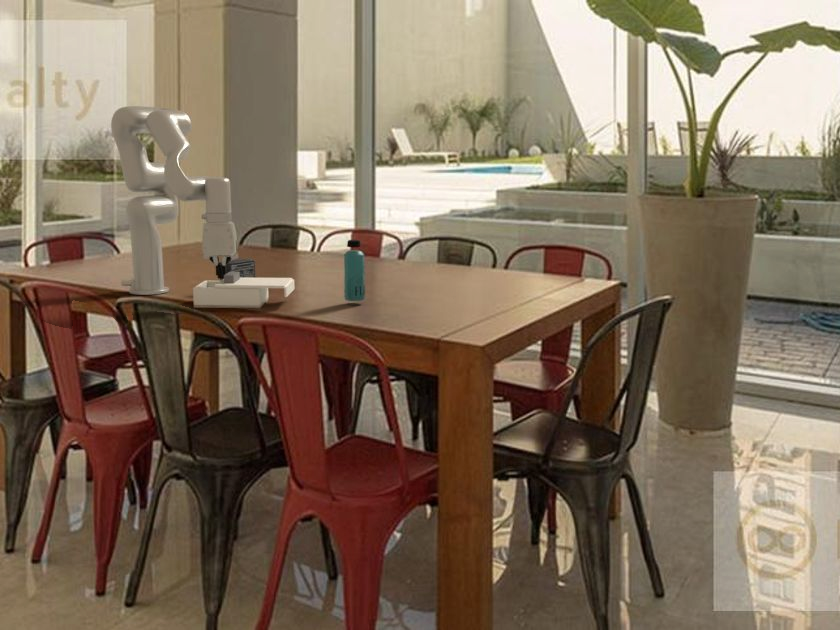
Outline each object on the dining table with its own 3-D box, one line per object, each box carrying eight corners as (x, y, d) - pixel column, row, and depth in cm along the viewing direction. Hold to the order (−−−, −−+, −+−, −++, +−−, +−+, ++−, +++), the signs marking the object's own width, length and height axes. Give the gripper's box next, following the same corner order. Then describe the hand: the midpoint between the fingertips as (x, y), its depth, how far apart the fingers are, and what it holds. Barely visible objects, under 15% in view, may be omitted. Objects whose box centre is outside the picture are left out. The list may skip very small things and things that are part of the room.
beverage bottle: (354, 306, 272) (354, 241, 268) (339, 304, 276) (338, 239, 272) (369, 303, 276) (369, 239, 272) (354, 301, 281) (354, 238, 277)
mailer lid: (215, 296, 268) (214, 277, 267) (226, 288, 283) (226, 269, 282) (286, 297, 268) (286, 277, 266) (294, 288, 282) (294, 270, 281)
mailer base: (193, 307, 269) (193, 287, 268) (205, 299, 283) (205, 280, 282) (259, 308, 269) (259, 288, 268) (268, 299, 283) (267, 281, 281)
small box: (244, 288, 304) (243, 257, 302) (256, 290, 300) (255, 259, 298) (219, 292, 296) (218, 261, 294) (232, 294, 292) (230, 263, 289)
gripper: (191, 219, 267) (194, 279, 271) (240, 219, 267) (242, 280, 270) (198, 217, 275) (200, 276, 278) (246, 217, 274) (248, 276, 278)
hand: (221, 277), depth 274 cm, fingers closed
